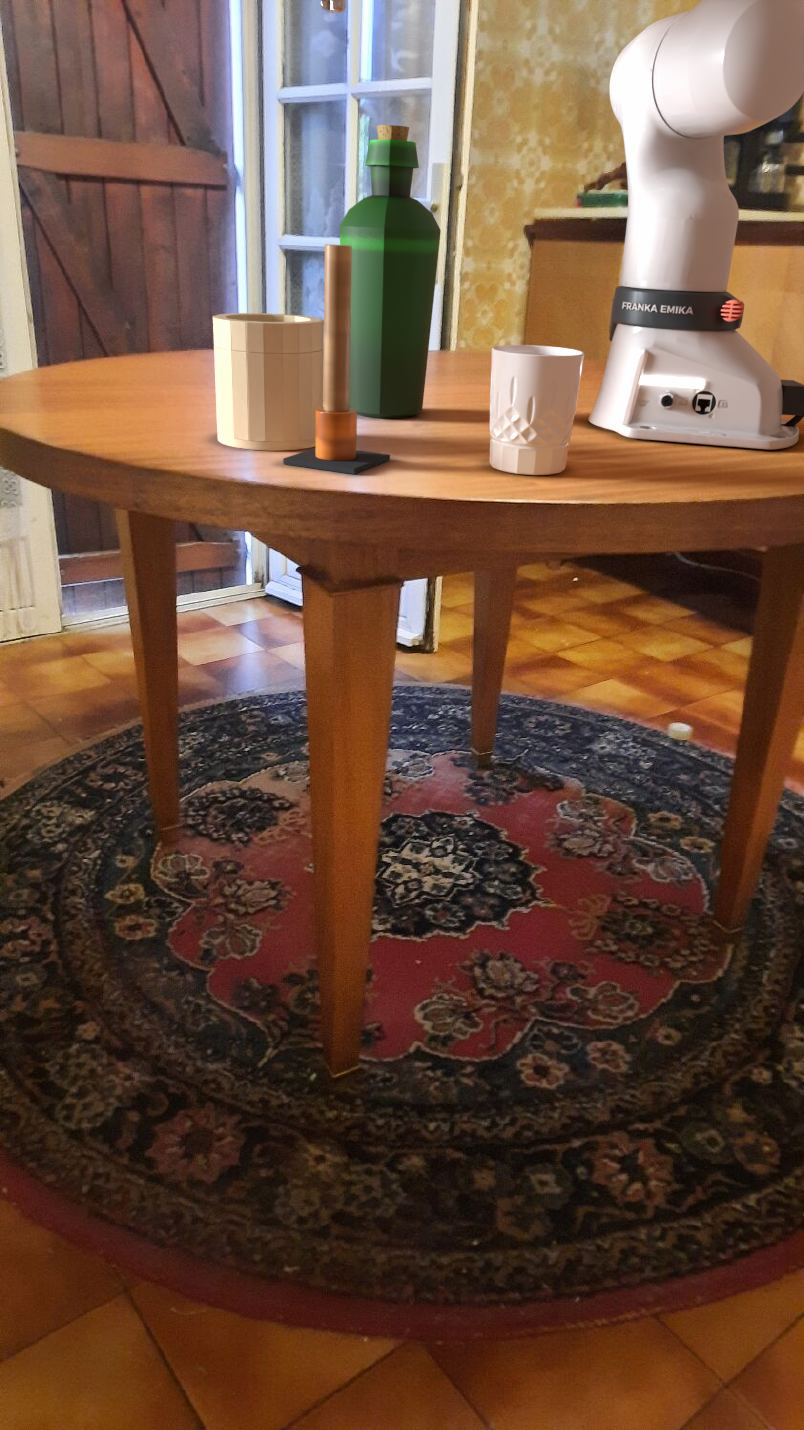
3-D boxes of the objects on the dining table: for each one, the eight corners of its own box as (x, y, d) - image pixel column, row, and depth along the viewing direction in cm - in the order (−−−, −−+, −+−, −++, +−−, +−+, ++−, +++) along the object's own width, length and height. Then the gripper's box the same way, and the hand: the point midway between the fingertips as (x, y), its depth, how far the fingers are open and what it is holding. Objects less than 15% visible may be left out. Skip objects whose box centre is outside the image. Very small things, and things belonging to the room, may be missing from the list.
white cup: (502, 478, 87) (512, 355, 83) (470, 459, 94) (478, 344, 89) (586, 476, 89) (600, 356, 85) (549, 457, 96) (560, 345, 92)
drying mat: (390, 460, 92) (390, 454, 92) (354, 474, 86) (354, 468, 86) (321, 451, 94) (322, 445, 94) (283, 464, 89) (282, 458, 88)
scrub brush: (363, 455, 91) (368, 246, 83) (344, 462, 88) (347, 246, 80) (327, 450, 92) (329, 244, 85) (308, 457, 89) (307, 244, 82)
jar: (340, 438, 100) (342, 319, 96) (288, 455, 92) (287, 325, 87) (254, 426, 104) (251, 311, 99) (196, 442, 96) (190, 317, 91)
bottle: (434, 408, 119) (448, 133, 107) (427, 423, 109) (442, 124, 97) (343, 402, 120) (348, 129, 108) (329, 418, 110) (332, 119, 98)
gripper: (276, -261, 73) (278, -27, 79) (394, -166, 90) (389, 21, 96) (201, -250, 75) (210, -23, 81) (331, -159, 92) (329, 23, 98)
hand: (308, 1), depth 89 cm, fingers open, 8 cm apart
